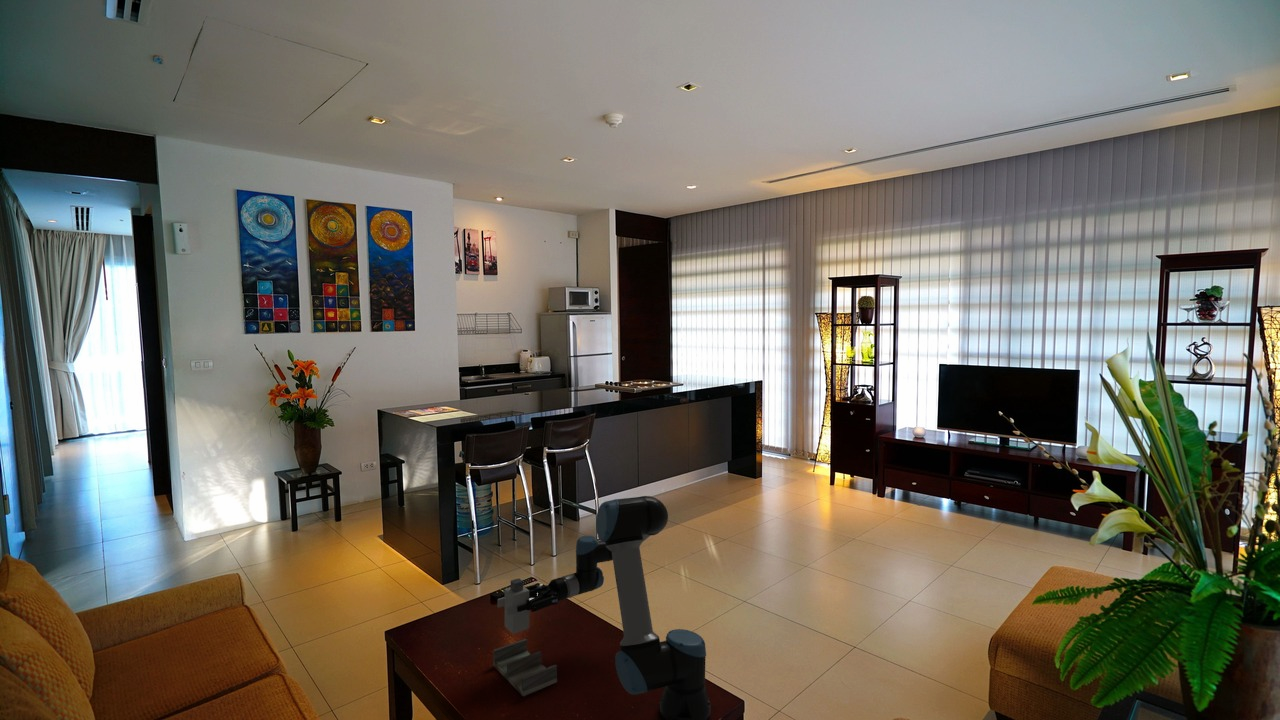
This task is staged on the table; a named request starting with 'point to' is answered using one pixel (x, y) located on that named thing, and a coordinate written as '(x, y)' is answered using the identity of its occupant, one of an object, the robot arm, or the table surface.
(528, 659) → the slot rack
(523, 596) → the grey square bottle
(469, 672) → the table surface
